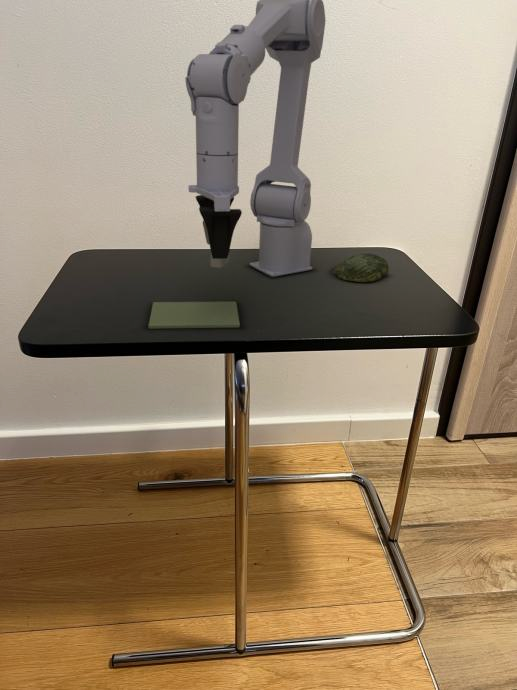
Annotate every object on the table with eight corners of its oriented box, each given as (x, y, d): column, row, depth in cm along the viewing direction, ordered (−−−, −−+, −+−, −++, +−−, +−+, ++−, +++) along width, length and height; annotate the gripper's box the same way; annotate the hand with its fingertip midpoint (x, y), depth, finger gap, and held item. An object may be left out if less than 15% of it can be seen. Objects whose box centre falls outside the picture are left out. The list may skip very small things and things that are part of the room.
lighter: (219, 258, 84) (219, 207, 81) (229, 260, 84) (230, 208, 80) (202, 272, 78) (202, 217, 74) (214, 274, 78) (214, 218, 74)
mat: (236, 304, 86) (236, 301, 86) (239, 327, 78) (239, 324, 78) (153, 305, 85) (153, 302, 85) (148, 328, 77) (148, 325, 77)
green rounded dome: (337, 243, 105) (390, 248, 103) (335, 263, 107) (387, 268, 105) (333, 262, 96) (390, 267, 95) (331, 283, 98) (387, 289, 97)
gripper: (185, 146, 80) (187, 237, 86) (190, 160, 67) (192, 266, 73) (233, 147, 81) (232, 237, 87) (246, 160, 68) (244, 265, 74)
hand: (217, 250), depth 80 cm, fingers closed on lighter, 7 cm apart
